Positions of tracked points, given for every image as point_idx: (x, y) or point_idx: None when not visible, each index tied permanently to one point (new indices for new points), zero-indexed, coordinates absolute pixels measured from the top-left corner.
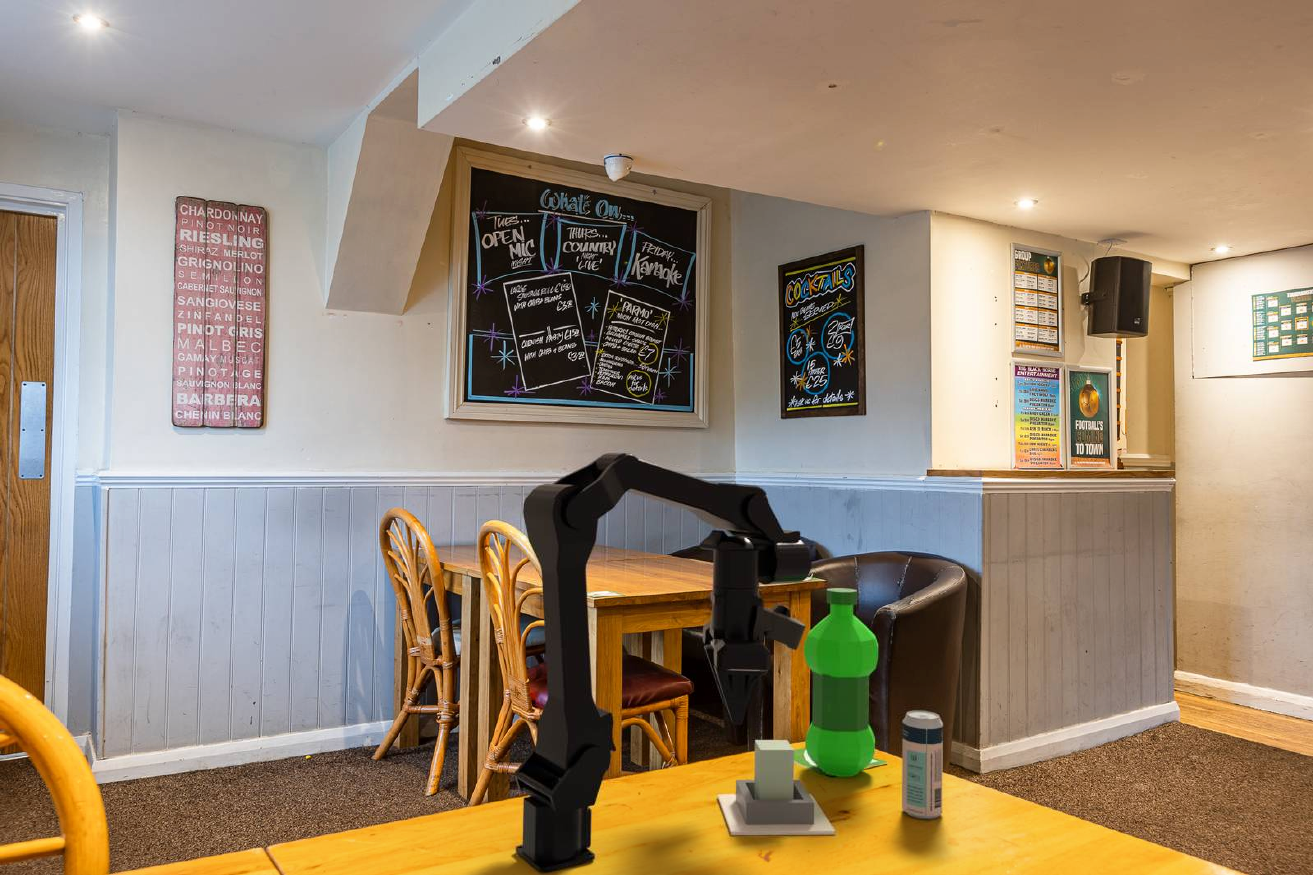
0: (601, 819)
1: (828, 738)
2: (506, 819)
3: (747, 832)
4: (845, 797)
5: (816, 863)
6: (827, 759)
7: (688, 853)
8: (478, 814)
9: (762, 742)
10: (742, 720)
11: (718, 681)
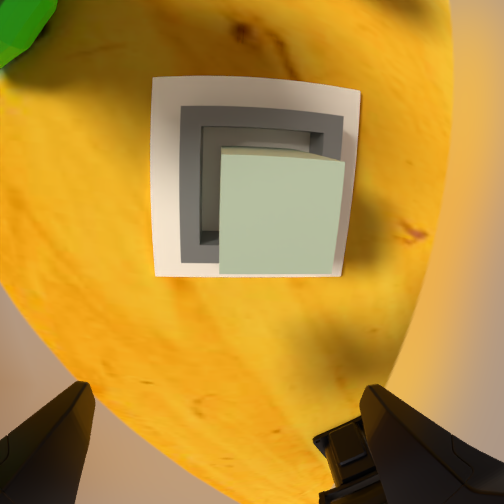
0: (252, 420)
1: (11, 15)
2: (246, 473)
3: (343, 249)
4: (160, 12)
5: (444, 168)
6: (38, 28)
7: (380, 332)
8: (232, 485)
9: (248, 253)
10: (387, 391)
11: (75, 482)
